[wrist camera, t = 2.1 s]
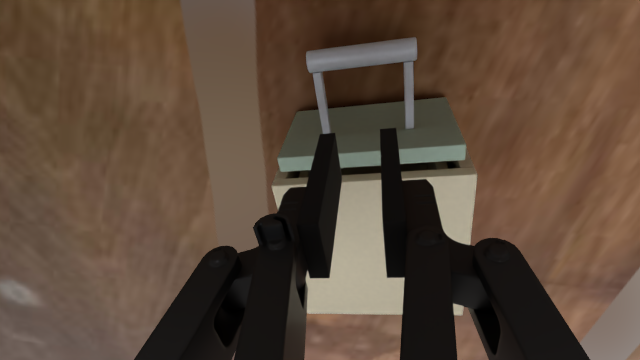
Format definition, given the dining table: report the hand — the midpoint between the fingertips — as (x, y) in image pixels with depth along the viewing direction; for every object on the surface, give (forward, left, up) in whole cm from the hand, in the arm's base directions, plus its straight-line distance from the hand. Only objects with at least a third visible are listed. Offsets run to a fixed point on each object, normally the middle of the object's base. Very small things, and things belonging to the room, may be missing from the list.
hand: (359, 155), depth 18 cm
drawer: (+7, 0, -14) cm, 15 cm away
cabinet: (+12, 0, -14) cm, 19 cm away
